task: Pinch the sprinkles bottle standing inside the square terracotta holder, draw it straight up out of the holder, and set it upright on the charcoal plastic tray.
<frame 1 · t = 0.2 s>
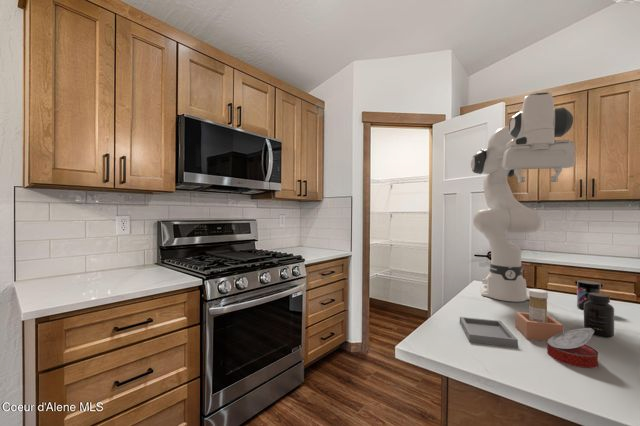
hand: (537, 182, 99), 47 cm above the countertop, tool pointing down, fingers open, 8 cm apart
supplement container: (588, 309, 114), on the countertop
terracotta holder: (537, 334, 89), on the countertop
charcoal tray: (485, 333, 89), on the countertop
sprinkles bottle: (537, 335, 89), resting in terracotta holder
canned food: (571, 359, 75), on the countertop
supplement bottle: (598, 334, 90), on the countertop
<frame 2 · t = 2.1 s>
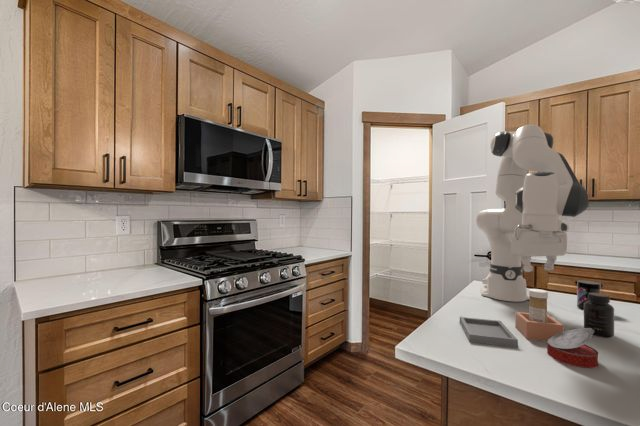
hand: (538, 271, 89), 19 cm above the countertop, tool pointing down, fingers open, 8 cm apart
nothing on the countertop moved.
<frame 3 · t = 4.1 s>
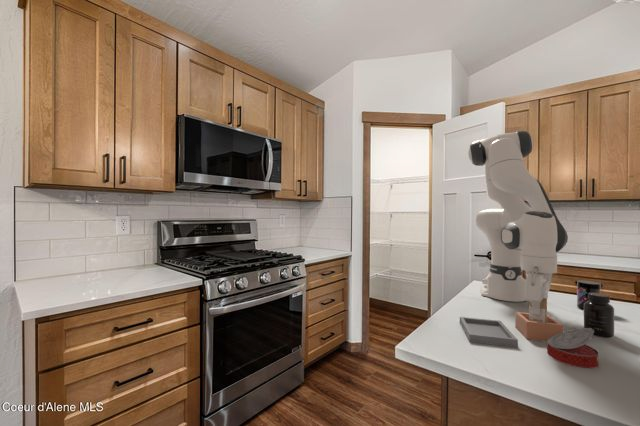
hand: (537, 311, 89), 7 cm above the countertop, tool pointing down, fingers closed on sprinkles bottle, 4 cm apart
sprinkles bottle: (537, 335, 89), resting in terracotta holder, touching gripper
everything else where it was.
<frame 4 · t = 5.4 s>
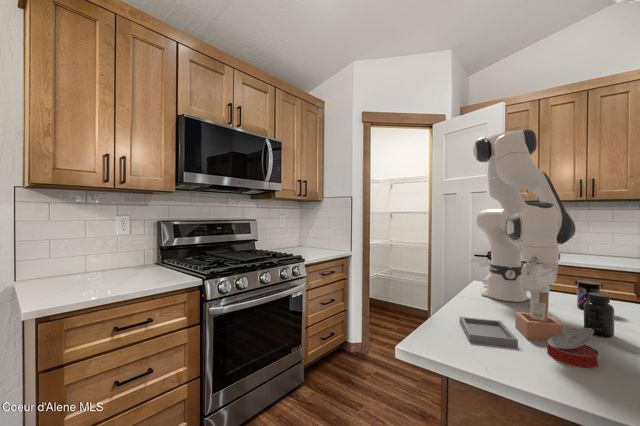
hand: (539, 301, 89), 10 cm above the countertop, tool pointing down, fingers closed on sprinkles bottle, 4 cm apart
sprinkles bottle: (538, 329, 89), point 1 cm above the countertop, touching gripper
everything else where it was.
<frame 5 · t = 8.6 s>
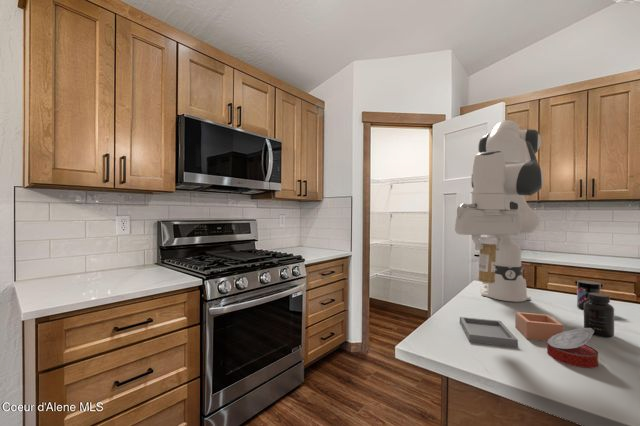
hand: (487, 249, 89), 25 cm above the countertop, tool pointing down, fingers closed on sprinkles bottle, 4 cm apart
sprinkles bottle: (486, 282, 89), point 16 cm above the countertop, touching gripper
everything else where it was.
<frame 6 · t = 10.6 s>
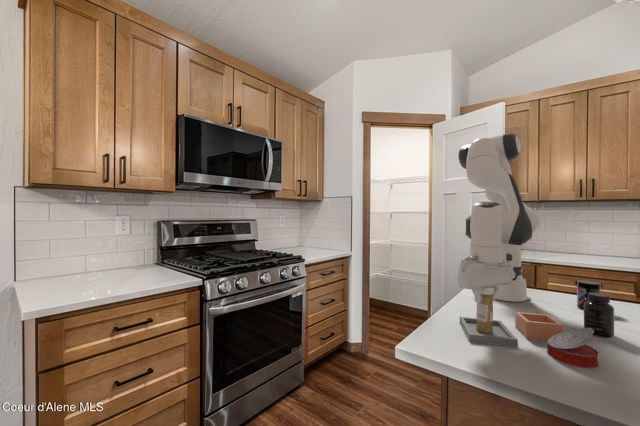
hand: (485, 300, 89), 10 cm above the countertop, tool pointing down, fingers closed on sprinkles bottle, 4 cm apart
sprinkles bottle: (484, 331, 89), point 1 cm above the countertop, touching charcoal tray, gripper
everything else where it was.
when the fingers open (9 cm above the countertop, at t = 11.5 s): sprinkles bottle stays where it is, resting on charcoal tray.
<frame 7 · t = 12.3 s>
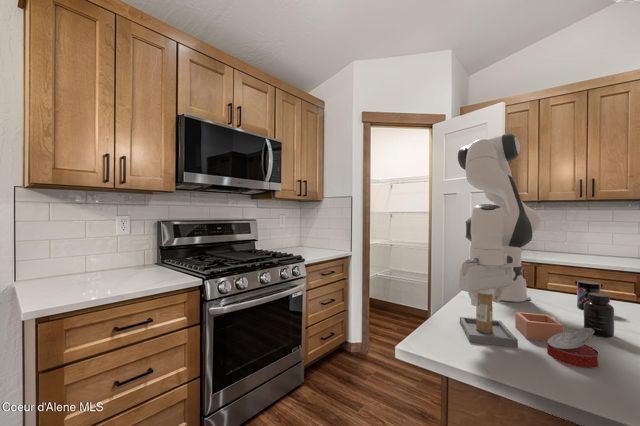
hand: (486, 303, 89), 9 cm above the countertop, tool pointing down, fingers open, 8 cm apart
sprinkles bottle: (484, 331, 89), point 1 cm above the countertop, touching charcoal tray
everything else where it was.
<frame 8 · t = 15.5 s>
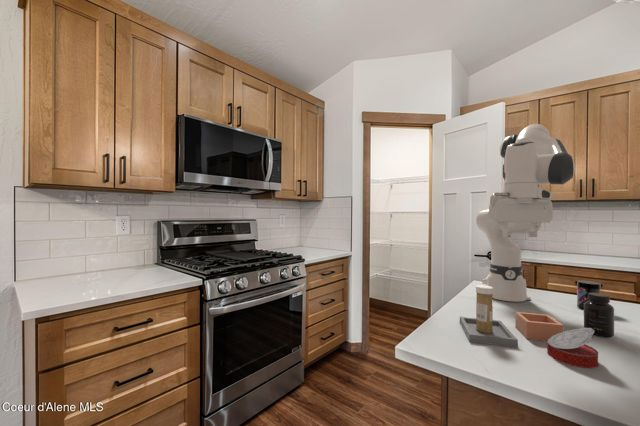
hand: (519, 237, 93), 29 cm above the countertop, tool pointing down, fingers open, 8 cm apart
nothing on the countertop moved.
at the end: sprinkles bottle inside the target area on the charcoal tray (0.5 cm from its centre), point 0.6 cm above the charcoal tray's base; sprinkles bottle tilted 0°; the gripper is holding nothing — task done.
